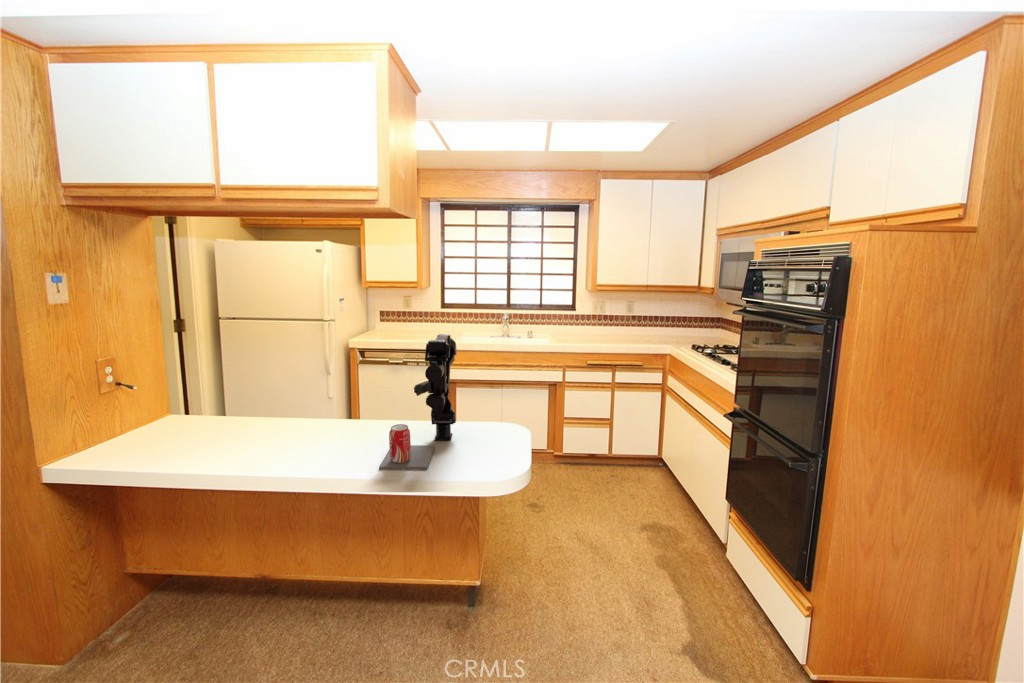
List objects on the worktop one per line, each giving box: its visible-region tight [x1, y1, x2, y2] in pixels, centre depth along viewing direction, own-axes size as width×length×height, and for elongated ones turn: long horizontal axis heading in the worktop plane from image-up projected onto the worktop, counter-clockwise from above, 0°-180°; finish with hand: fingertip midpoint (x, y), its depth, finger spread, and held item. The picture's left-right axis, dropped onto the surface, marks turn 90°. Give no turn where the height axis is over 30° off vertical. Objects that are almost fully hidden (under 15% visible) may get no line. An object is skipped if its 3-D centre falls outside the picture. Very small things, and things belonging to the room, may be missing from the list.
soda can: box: [388, 423, 412, 463], centre depth 154 cm, size 7×7×12 cm
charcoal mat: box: [378, 444, 436, 471], centre depth 159 cm, size 18×16×1 cm
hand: (438, 416), depth 164 cm, fingers open, 9 cm apart
